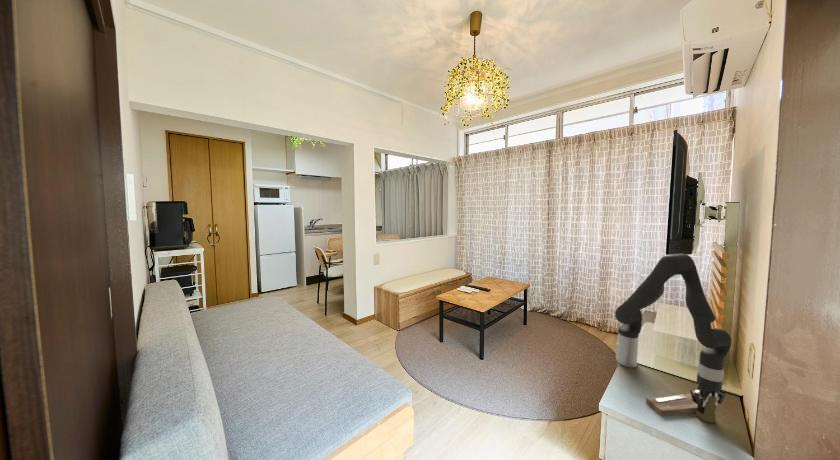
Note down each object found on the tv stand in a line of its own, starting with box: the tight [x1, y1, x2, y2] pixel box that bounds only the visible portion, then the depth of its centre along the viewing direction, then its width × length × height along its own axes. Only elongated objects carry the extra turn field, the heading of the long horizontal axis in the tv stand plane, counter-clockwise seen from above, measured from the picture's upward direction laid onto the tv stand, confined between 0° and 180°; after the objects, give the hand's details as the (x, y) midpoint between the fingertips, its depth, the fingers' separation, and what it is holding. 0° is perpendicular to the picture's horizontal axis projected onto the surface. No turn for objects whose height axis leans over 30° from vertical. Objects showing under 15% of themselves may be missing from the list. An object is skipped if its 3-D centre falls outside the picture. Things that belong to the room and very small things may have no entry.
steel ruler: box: [655, 394, 686, 402], centre depth 131 cm, size 2×14×1 cm, turn 97°
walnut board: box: [645, 393, 698, 417], centre depth 129 cm, size 8×22×3 cm, turn 93°
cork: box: [695, 395, 717, 423], centre depth 121 cm, size 6×6×11 cm
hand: (706, 412), depth 122 cm, fingers closed on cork, 4 cm apart
